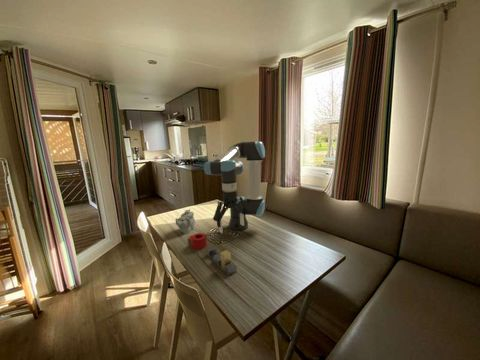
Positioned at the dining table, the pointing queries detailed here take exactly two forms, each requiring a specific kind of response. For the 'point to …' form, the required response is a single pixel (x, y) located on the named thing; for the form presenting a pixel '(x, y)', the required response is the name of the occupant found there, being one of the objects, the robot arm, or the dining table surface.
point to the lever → (198, 241)
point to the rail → (217, 259)
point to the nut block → (225, 258)
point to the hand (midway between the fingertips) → (231, 228)
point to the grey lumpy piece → (186, 222)
